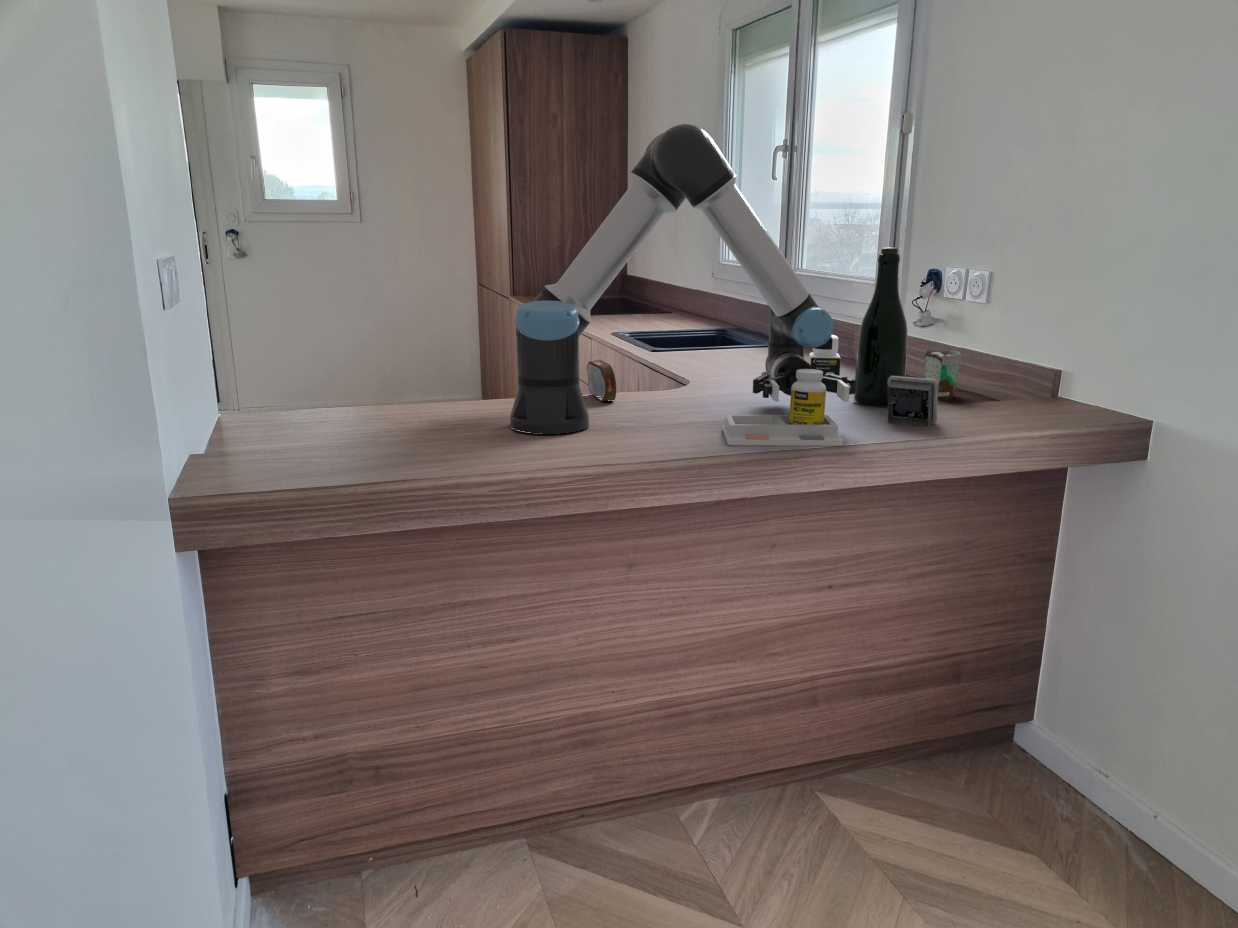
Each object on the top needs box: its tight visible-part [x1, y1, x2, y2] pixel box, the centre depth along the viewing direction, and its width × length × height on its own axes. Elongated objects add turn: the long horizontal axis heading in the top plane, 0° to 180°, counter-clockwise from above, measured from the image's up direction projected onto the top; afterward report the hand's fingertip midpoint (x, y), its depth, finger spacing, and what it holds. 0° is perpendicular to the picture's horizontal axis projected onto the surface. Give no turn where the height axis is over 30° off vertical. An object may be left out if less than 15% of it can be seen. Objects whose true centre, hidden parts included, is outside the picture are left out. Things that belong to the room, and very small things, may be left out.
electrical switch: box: [887, 376, 938, 427], centre depth 165 cm, size 9×5×9 cm, turn 57°
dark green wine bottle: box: [853, 247, 908, 407], centre depth 182 cm, size 10×10×33 cm
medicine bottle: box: [808, 334, 842, 377], centre depth 210 cm, size 7×7×12 cm
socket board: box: [722, 414, 844, 447], centre depth 154 cm, size 20×12×3 cm, turn 88°
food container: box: [923, 348, 963, 401], centre depth 193 cm, size 12×6×10 cm, turn 179°
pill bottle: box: [789, 369, 827, 425], centre depth 154 cm, size 6×6×11 cm
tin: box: [586, 359, 617, 401], centre depth 192 cm, size 15×3×8 cm, turn 18°
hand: (811, 394), depth 150 cm, fingers open, 11 cm apart
